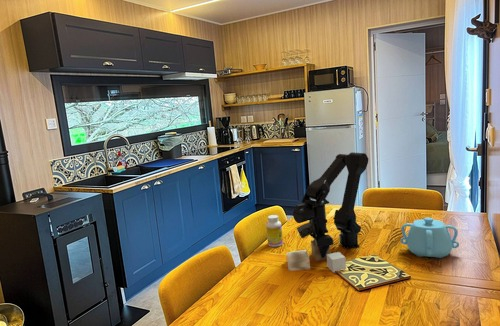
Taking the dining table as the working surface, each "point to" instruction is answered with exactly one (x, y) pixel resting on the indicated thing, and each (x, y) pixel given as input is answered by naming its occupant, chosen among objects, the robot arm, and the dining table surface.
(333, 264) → the grey cube
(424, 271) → the dining table surface
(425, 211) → the dining table surface
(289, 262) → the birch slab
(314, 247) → the walnut cube
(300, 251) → the walnut card
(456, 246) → the decorative pot
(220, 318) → the dining table surface
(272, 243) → the supplement bottle
